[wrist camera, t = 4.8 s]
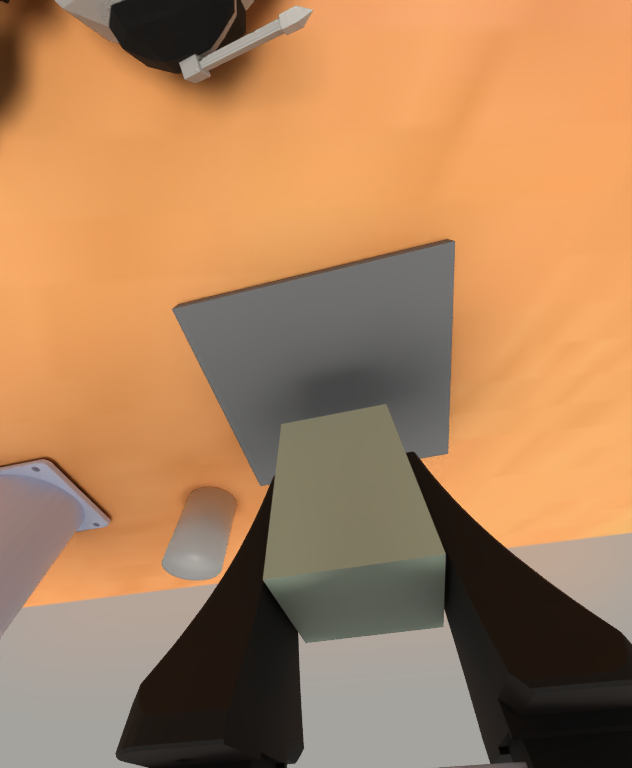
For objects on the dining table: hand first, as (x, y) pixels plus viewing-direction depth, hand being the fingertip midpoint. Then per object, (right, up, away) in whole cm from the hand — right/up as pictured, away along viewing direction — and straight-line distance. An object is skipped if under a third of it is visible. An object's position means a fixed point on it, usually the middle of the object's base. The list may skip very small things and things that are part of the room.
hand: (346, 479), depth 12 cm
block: (0, +1, +1) cm, 2 cm away
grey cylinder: (-10, -6, +12) cm, 17 cm away
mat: (0, +4, +6) cm, 7 cm away
